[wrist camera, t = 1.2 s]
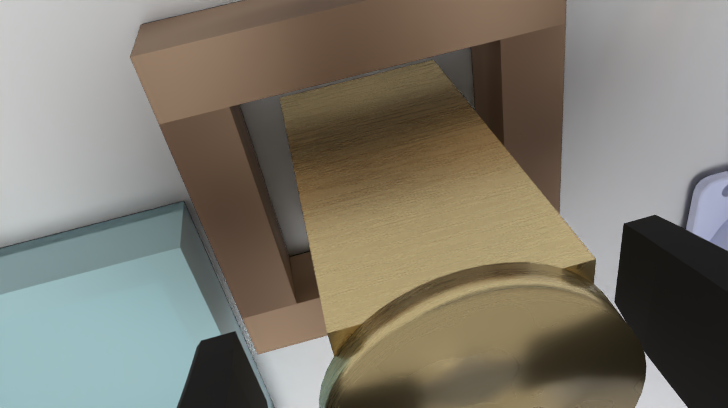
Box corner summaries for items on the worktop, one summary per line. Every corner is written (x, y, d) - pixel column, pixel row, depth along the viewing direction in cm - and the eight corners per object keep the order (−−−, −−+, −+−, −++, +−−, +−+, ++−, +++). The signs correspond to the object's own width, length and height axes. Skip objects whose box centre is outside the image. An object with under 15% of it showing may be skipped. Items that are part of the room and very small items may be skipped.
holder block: (527, -67, 14) (568, -49, 12) (528, 231, 19) (557, 271, 17) (140, 24, 13) (129, 57, 11) (254, 305, 18) (257, 354, 17)
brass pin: (450, 36, 15) (666, 259, 8) (464, 196, 18) (629, 465, 11) (254, 84, 14) (289, 365, 7) (302, 239, 17) (359, 546, 10)
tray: (183, 201, 16) (179, 247, 14) (276, 411, 21) (280, 461, 20) (-185, 296, 15) (-233, 355, 14) (10, 486, 21) (-7, 544, 19)
